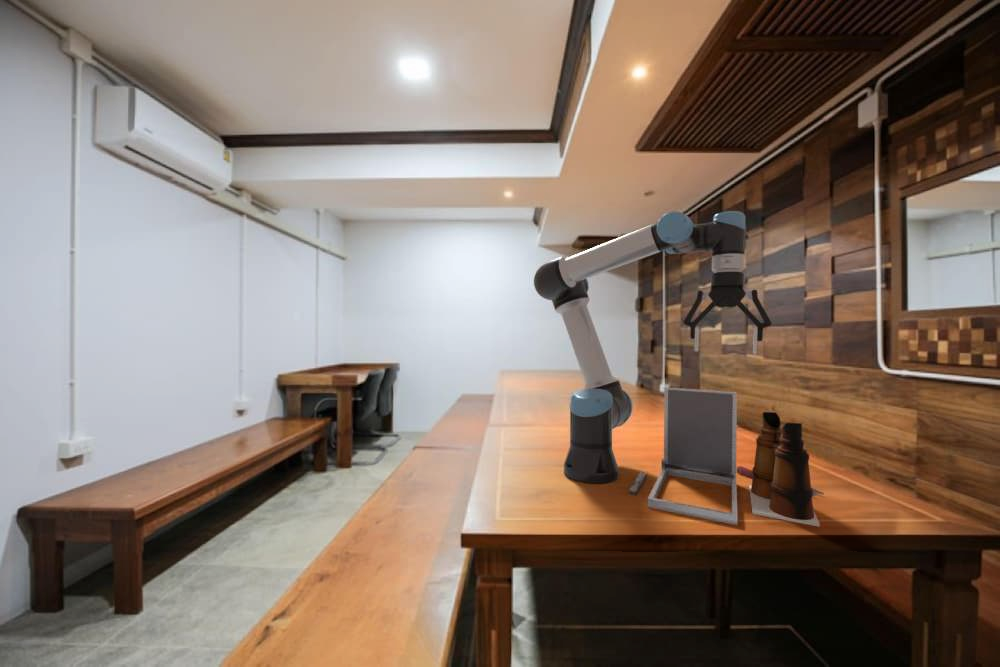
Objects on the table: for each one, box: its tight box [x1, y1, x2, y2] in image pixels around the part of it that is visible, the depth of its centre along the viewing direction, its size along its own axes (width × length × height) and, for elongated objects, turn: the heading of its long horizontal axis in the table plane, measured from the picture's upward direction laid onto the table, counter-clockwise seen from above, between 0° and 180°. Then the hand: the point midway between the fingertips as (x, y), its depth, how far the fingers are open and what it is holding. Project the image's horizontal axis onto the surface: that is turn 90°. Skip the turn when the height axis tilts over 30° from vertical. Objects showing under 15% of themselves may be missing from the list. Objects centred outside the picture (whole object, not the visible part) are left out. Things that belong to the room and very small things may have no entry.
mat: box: [748, 484, 821, 527], centre depth 97 cm, size 12×18×1 cm, turn 151°
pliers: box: [736, 465, 825, 497], centre depth 111 cm, size 12×20×3 cm, turn 15°
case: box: [647, 387, 738, 526], centre depth 103 cm, size 18×27×24 cm
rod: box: [628, 471, 647, 496], centre depth 109 cm, size 2×14×2 cm, turn 151°
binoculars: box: [751, 411, 815, 520], centre depth 97 cm, size 18×8×20 cm, turn 170°
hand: (724, 352), depth 109 cm, fingers open, 13 cm apart
